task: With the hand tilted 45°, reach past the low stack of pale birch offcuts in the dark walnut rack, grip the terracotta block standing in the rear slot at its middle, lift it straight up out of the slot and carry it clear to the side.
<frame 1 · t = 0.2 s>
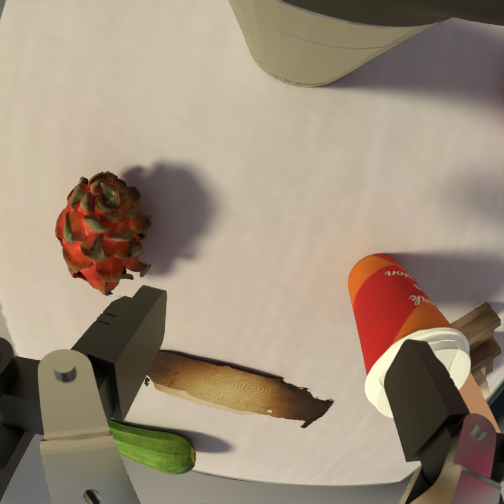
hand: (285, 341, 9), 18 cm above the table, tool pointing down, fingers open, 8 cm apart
dragon fruit: (122, 222, 28), on the table
walnut rack: (441, 366, 33), on the table
vegetable: (143, 429, 44), on the table
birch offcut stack: (446, 385, 33), point 1 cm above the table, touching walnut rack
paper cup: (374, 277, 28), on the table
parchment: (236, 388, 37), on the table
terracotta block: (440, 356, 31), point 1 cm above the table, touching walnut rack
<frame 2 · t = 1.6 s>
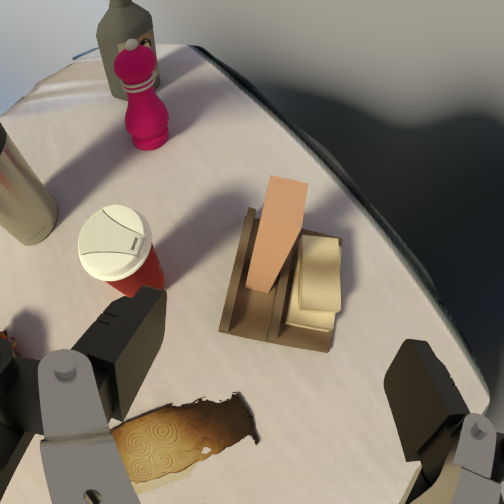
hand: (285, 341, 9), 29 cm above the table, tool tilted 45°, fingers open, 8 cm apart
walnut rack: (284, 283, 40), on the table
liquor: (136, 89, 54), on the table
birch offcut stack: (312, 286, 39), point 1 cm above the table, touching walnut rack
paper cup: (144, 282, 39), on the table
pepper mill: (151, 138, 48), on the table
parchment: (159, 448, 31), on the table
terracotta block: (259, 275, 39), point 1 cm above the table, touching walnut rack
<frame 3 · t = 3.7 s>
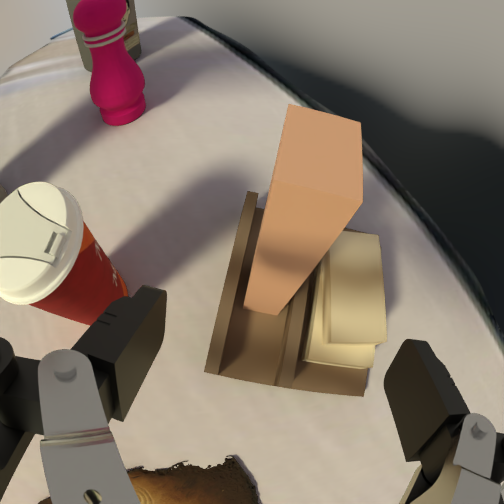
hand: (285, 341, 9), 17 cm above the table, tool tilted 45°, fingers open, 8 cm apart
walnut rack: (300, 300, 28), on the table
liquor: (113, 61, 42), on the table
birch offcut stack: (340, 305, 27), point 1 cm above the table, touching walnut rack
paper cup: (101, 298, 26), on the table
pepper mill: (124, 111, 36), on the table
terracotta block: (264, 290, 27), point 1 cm above the table, touching walnut rack
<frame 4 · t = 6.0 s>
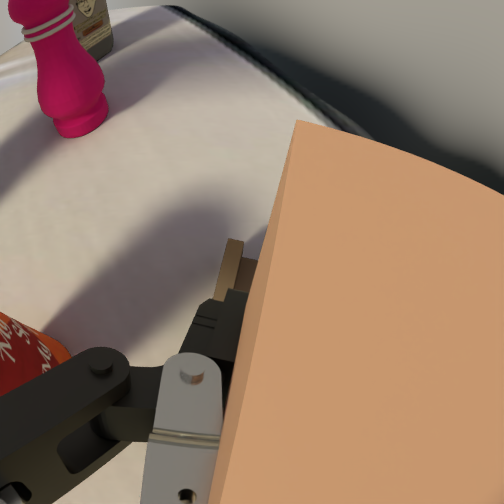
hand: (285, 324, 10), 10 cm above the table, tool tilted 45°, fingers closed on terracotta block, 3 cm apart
walnut rack: (301, 388, 19), on the table
liquor: (82, 57, 33), on the table
paper cup: (47, 373, 18), on the table
pepper mill: (83, 119, 27), on the table
terracotta block: (251, 379, 18), point 1 cm above the table, touching gripper, walnut rack
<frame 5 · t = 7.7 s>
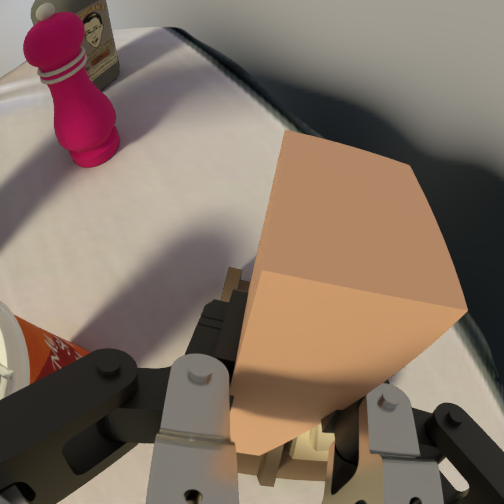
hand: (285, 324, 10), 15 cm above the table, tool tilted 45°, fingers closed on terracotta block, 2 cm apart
walnut rack: (289, 387, 24), on the table
liquor: (90, 83, 38), on the table
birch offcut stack: (332, 392, 23), point 1 cm above the table, touching walnut rack
paper cup: (76, 376, 22), on the table
pepper mill: (96, 149, 32), on the table
terracotta block: (241, 424, 18), point 5 cm above the table, tilted 20°, touching gripper
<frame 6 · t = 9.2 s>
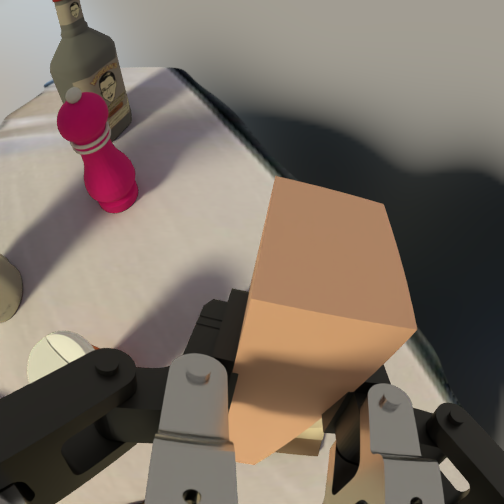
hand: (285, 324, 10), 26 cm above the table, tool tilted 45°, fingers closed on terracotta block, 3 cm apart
walnut rack: (271, 384, 33), on the table
liquor: (106, 127, 47), on the table
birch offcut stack: (302, 389, 32), point 1 cm above the table, touching walnut rack
paper cup: (115, 379, 32), on the table
pepper mill: (118, 196, 42), on the table
terracotta block: (237, 435, 18), point 14 cm above the table, tilted 23°, touching gripper
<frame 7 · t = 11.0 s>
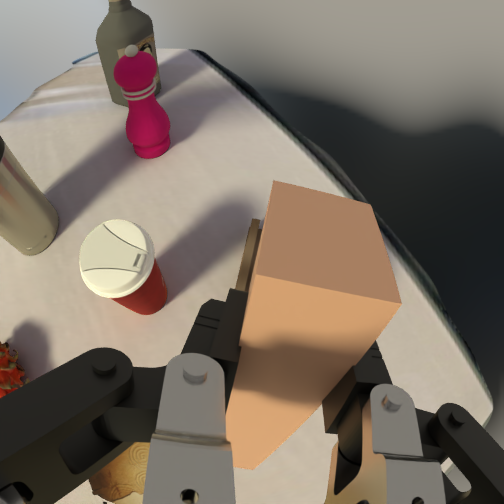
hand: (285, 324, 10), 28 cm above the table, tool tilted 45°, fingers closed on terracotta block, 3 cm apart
dragon fruit: (15, 378, 31), on the table
walnut rack: (289, 295, 40), on the table
liquor: (137, 94, 54), on the table
paper cup: (146, 294, 38), on the table
pepper mill: (152, 146, 48), on the table
parchment: (164, 459, 30), on the table
terracotta block: (235, 441, 18), point 16 cm above the table, tilted 28°, touching gripper
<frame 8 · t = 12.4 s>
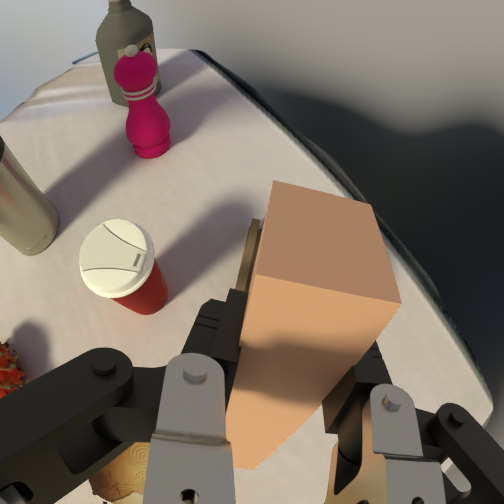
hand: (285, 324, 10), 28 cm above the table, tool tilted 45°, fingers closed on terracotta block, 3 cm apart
dragon fruit: (15, 378, 31), on the table
walnut rack: (289, 295, 40), on the table
liquor: (137, 94, 54), on the table
paper cup: (146, 294, 38), on the table
pepper mill: (152, 146, 48), on the table
parchment: (164, 459, 30), on the table
terracotta block: (235, 441, 18), point 16 cm above the table, tilted 28°, touching gripper
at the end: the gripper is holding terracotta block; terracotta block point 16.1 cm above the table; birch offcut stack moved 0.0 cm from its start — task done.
